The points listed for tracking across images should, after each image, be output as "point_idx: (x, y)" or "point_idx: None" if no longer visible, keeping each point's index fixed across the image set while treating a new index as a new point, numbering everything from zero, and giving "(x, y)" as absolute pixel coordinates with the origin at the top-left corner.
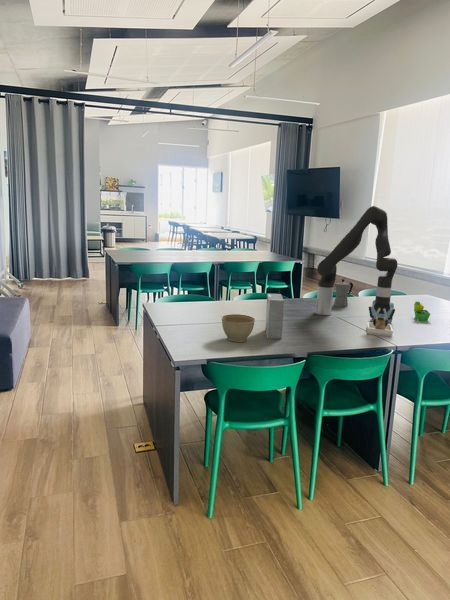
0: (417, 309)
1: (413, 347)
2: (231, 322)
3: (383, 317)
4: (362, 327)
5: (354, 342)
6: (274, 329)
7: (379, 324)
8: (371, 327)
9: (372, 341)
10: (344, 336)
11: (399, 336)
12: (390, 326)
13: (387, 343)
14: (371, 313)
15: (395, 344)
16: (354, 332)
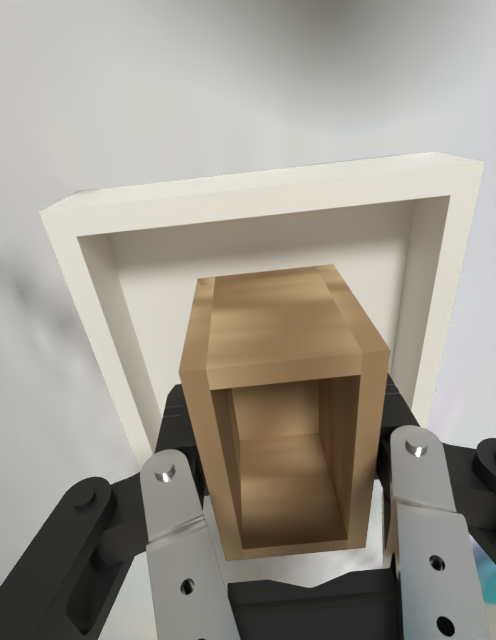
0: None
1: (485, 558)
2: None
3: (356, 367)
4: (24, 226)
5: (137, 608)
6: None
7: (273, 492)
8: (152, 251)
9: (234, 565)
10: None
11: (466, 391)
12: (434, 301)
13: (330, 560)
14: (89, 635)
15: (380, 557)
16: (44, 457)
